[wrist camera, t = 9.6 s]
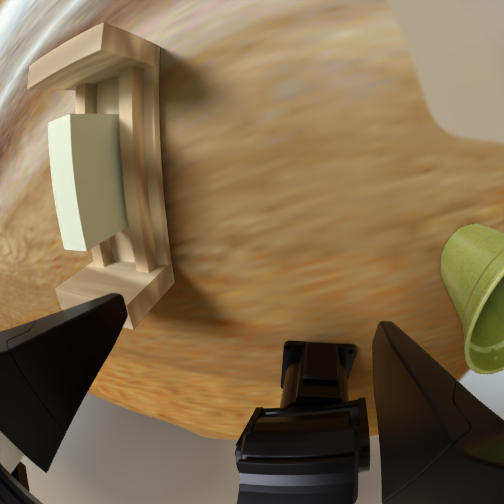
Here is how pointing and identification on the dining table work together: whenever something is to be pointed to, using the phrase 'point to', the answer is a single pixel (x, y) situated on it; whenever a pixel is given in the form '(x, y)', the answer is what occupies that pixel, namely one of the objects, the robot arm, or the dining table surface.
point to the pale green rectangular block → (87, 178)
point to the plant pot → (477, 293)
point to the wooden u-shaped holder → (132, 157)
